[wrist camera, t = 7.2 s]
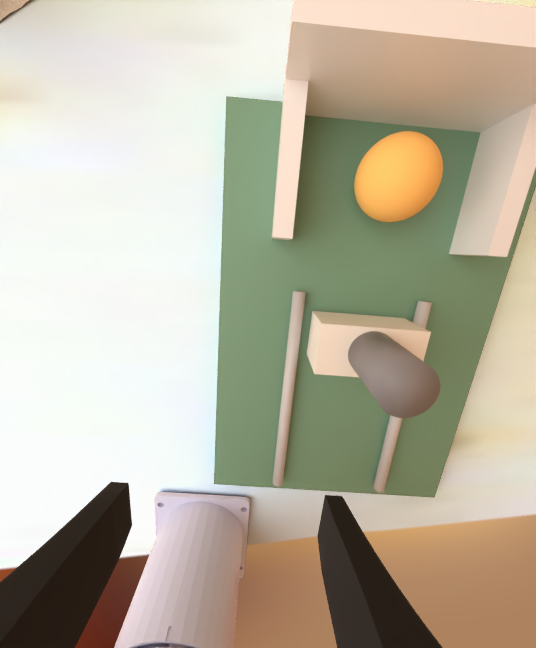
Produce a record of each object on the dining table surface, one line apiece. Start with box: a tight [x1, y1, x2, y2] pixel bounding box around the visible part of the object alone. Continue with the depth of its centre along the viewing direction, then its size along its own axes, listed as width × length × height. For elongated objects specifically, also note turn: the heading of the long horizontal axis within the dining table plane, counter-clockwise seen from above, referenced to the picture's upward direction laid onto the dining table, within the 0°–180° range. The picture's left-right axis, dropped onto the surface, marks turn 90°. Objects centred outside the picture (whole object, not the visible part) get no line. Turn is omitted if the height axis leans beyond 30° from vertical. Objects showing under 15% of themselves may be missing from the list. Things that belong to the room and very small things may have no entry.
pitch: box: [214, 96, 536, 497], centre depth 18 cm, size 26×18×2 cm
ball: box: [354, 131, 443, 222], centre depth 13 cm, size 4×4×4 cm
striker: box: [307, 311, 440, 418], centre depth 14 cm, size 3×6×7 cm, turn 85°
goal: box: [272, 0, 536, 257], centre depth 12 cm, size 8×12×6 cm, turn 85°
